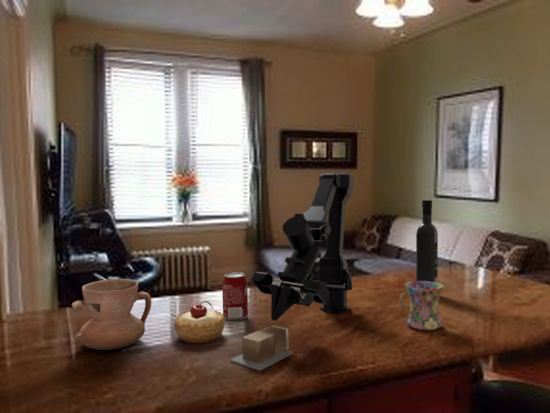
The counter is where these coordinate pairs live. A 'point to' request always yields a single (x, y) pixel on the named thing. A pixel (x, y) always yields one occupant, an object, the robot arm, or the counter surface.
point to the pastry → (199, 324)
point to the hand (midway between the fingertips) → (273, 319)
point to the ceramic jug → (112, 314)
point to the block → (265, 343)
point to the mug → (423, 304)
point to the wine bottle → (427, 246)
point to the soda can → (235, 296)
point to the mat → (263, 364)
